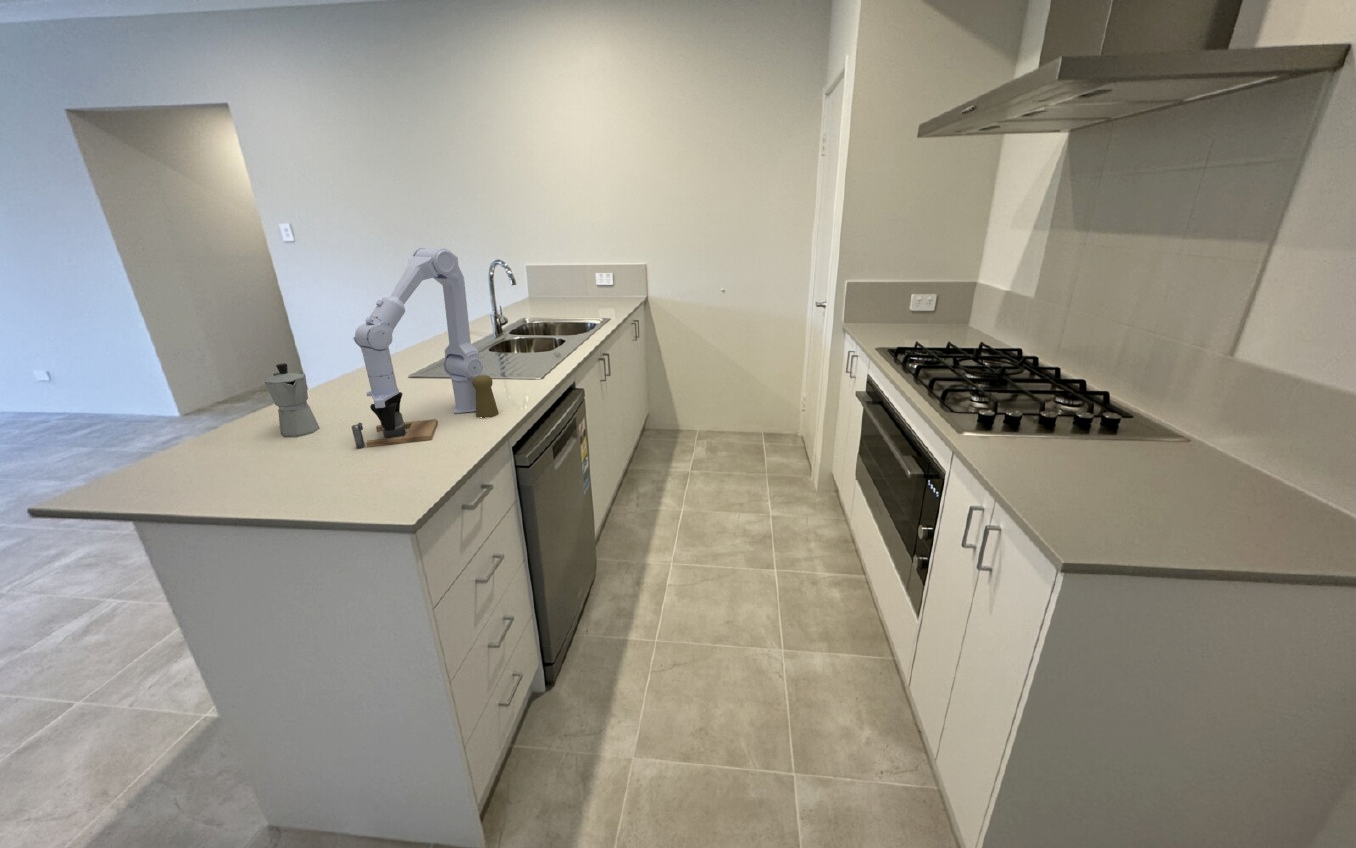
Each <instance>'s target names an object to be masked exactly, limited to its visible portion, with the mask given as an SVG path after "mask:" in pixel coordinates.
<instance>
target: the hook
mask: <svg viewBox="0 0 1356 848" xmlns="http://www.w3.org/2000/svg"><path fill="white" fill-rule="evenodd" d="M351 430H352V435H353V439H354V442H355V447H356V449H357V450H358V449H359V450H360V449H364V448H365V447H366V444H365V440H364V437H363V436H364V435H363V433H362V430H364V428H363V422H358V423H357V424H353V425H351Z"/></svg>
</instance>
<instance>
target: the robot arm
mask: <svg viewBox="0 0 1356 848" xmlns="http://www.w3.org/2000/svg"><path fill="white" fill-rule="evenodd" d="M429 279H434V280H435V281H437V283H439V284H440V285H442V289H443V291H442V292H443V300H444V301H443V302H444V308H445V316H446V317H445V319H446V326H447V336H448V342H449V343H448V345H447V346H446V348H445V349H444V359H443V361H442V362H443V363H442V366H443V369H444V372H446V374H448V375H449V378H450V379H451V385H452V390H453V396H454V401H455V407H454V410H453V413H454V414H463V413H470V412H471V413H473V412H476V389H475V388H474V387H473V384H472V380H473V378H474V377H476V376H480V375H482V373H483V371H484V365H483V361H482V360H481V357H480V351H479V350H478V349H477V348H476V347H475V346H474V345H473V344H472V343H471V333H470V325H469V322H470V321H469V314H468V313H469V312H468V304H467V303H468V301H467V295H466V294H467V293H466V285H465V283H466V282H465V276H464V275H463V272H462V271H461V269H460V266H459V257H458V256H457V255H456V254H454V253H453V252H452V251H451V250H449V249H447V248H426V247H418V248H416V249H415V250H414V251H413V253H412V255H411V256H410V257H409V259H408V261H407V267H406V268H405V269H404V271H403V273H402V275H401V277H400V279H399V280H398V282H397V284H396V285H395V287H394V289H393V290H392V293H391V294H390V296H385V297H382V298H381V299H378V300H377V301H376V302H375V305H376V306H375V308H374V310H373V311H372V312H371V314H370V315H369V317H367V318H366V319H365V323H362V324H360V325H359V326H358V327H357V328H356V329H355V334H354V336H353V338H352V339H353V341H354V342H355V344H356V345H357V346H358V347H359V348H360V350H361V353H362V357H363V361H364V365H365V370H366V374H367V378H368V382H369V386H370V391H367V393H365V394H366V397H371V398H372V399H373V402H374V403H371V404H370V406H369V407H370V410H371V411H372V412H373V414H375V416H377V418H378V420H379V422H380V425H381V424H382V426H383V428H384V429H385V431H392V430H395V412H400V413H401V411H400V410H401V401H402V397H403V392H401V391H400V390H399V388H398V385H397V381H396V376H395V371H394V366H393V363H392V362H393V361H392V356H391V351H390V348H389V346H390V345H391V344H392V343H393V333H394V330H395V328H396V327H397V326H398V324H399V322H400V321H401V319H402V318H403V316H404V315H405V314H406V308H405V304H406V303H407V301H408V300H409V299H410V297H411V296H412V295H413V294H414V292H415V291H416V289H417V288H418V287H419V286H420V284H421V283H422V282H423V281H425V280H429Z"/></svg>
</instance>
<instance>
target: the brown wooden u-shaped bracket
mask: <svg viewBox="0 0 1356 848" xmlns="http://www.w3.org/2000/svg"><path fill="white" fill-rule="evenodd" d="M438 423H439V422H438V419H437V418H434V419H433V418H431V419H423V420H414V421H404V427H405V429H407V432H406V433H405V435H403V436H400V437H393V438H385V437H384V438H376V439H367V441H366V442H365V443H366V444H365V445H366V447H367V448H373V447H380V446H388V445H389V446H390V445H391V446H392V445H399V444H406V443H407V444H408V443H415V442H416V443H417V442H418V443H419V442H425V441H432V440H433V438H434V434H435V432H436V429H437V427H438ZM375 428H376V432H383V430H382V428H381V424H377V425H376V426H375Z"/></svg>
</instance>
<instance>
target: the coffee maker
mask: <svg viewBox="0 0 1356 848" xmlns="http://www.w3.org/2000/svg"><path fill="white" fill-rule="evenodd" d="M275 367H276V368H277V371H278V372H277V373H273V376H271V377H270V376H269V377H268V378H266V380H265V381H264V385H265V387H266V389H267V390H268V393H269V394H270V397H271V399H272V401H273V403H274V406H276V407H278V410H277V411H278V422H279V423H278V424H279V430H280V432H279V433H280V435H281V436H282V437H283V438H285V439H286V438H299V437H303V436H308V435H312V434H314V433H315V432H317V431H319V430H320V429H321V428H320V426H319V423H318V421H317V419H316V417H315V415H314V413H313V411H312V409H311V407H310V405H309V404H308V400H309V394H308V385H307V378H306V374H305V373H297V372H288V363H278V364H276V365H275Z"/></svg>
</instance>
